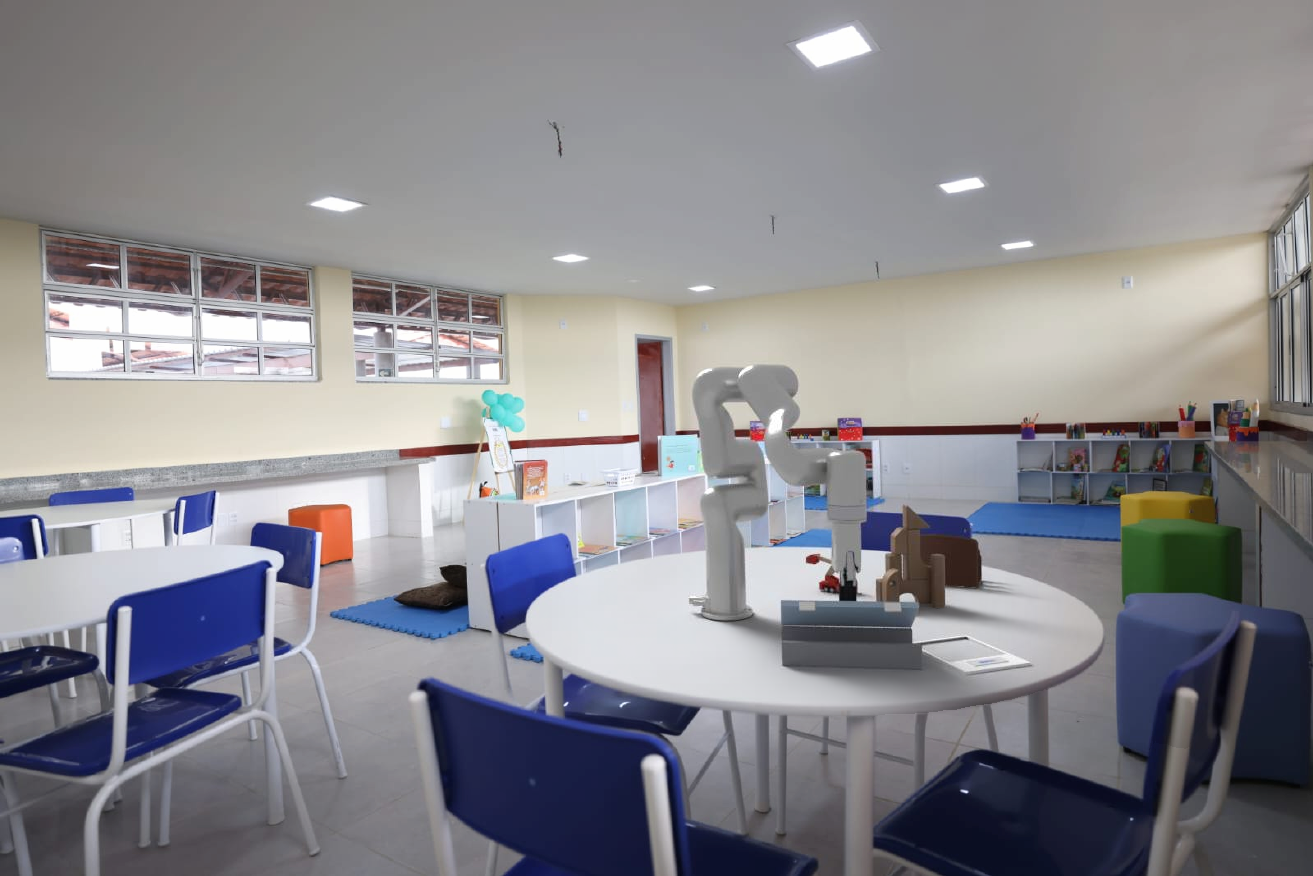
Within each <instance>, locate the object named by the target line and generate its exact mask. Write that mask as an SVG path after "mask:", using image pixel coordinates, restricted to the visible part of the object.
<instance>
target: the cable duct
mask: <svg viewBox="0 0 1313 876" xmlns="http://www.w3.org/2000/svg"><path fill="white" fill-rule="evenodd" d="M780 628H781V631H780V632H781V661H782V662H781V663H782V665H781V666H785V667H786V666H787V667H788V666H789V667H790V666H794V667H795V666H797V667H798V666H799V667H824V668H825V667H827V668H828V667H831V668H864V669H866V668H868V669H899V670H900V669H904V670H923V653H922V649H923V645H922V643H920V644H917V643H913V642H914V641H913V629H912V627H911V628H900V627H847V626H794V625H780Z"/></svg>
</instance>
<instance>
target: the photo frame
mask: <svg viewBox="0 0 1313 876" xmlns="http://www.w3.org/2000/svg"><path fill="white" fill-rule="evenodd" d="M957 639H968V641H970V642H973V643H974V644H976V645H979V646H982V647H983V648H986V649H989V650H990V651H993V652H994V653H995V652H996V653H998V654H999V655H991V656H984V657H979V658H970V659H963V660H957V661H950V662H949V661H947V660H945V659H943V658H942V657H939V656H937V655H936V654H934V653H931V652H929V651H927V650H925V649H923V648H922V655H925V656H928V657H929V658H931V659H932V660H934V661H937V662H939V663H941V664H942V665H945V666H947V667H949V668H951V669H953V670H955V671H957V672H959V673H961V674H963V675H965V676H966V675H973V674H981V673H987V672H994V671H1000V670H1007V669H1014V668H1019V667H1020V668H1021V667H1026V666H1031V664H1032V663H1031V661H1028V660H1026V659H1024V658H1021V657H1019V656H1017V655H1014V654H1012V653H1009V652H1007V651H1004V650H1003V649H1000V648H997V647H995V646H993V645H990V644H988V643H986V642H983V641H981V640H979V639H976V638H974V637H971V636H969V635H966V634H965V635H959V636H958V635H956V636H949V637H942V638H941V637H940V638H934V639H927V640H919V641H912V642H913V643H917V644H926V643H935V642H943V641H950V640H957Z"/></svg>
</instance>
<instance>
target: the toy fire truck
mask: <svg viewBox="0 0 1313 876" xmlns="http://www.w3.org/2000/svg"><path fill="white" fill-rule="evenodd" d="M820 562H823V563H826V564H830V565H831V566H829V568H828V569H827V571H826V573H825V574H824V580H821V581H819V582H818V590H820V591H824V592H825V593H828V592H830V593H834V592H836V593H839V584H840V577H837V576H835V575H834V574H835V573H836V572H835V571H834V569H833V567H832V564H831V558H827V557H825V556H821V554H820V553H814V554H809V555H807V556H805V564H809V565H817V564H819V563H820ZM858 585H859V584H858V580H857V578H856V594H857V593H858V592H859V591H858V588H859V587H858Z"/></svg>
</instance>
